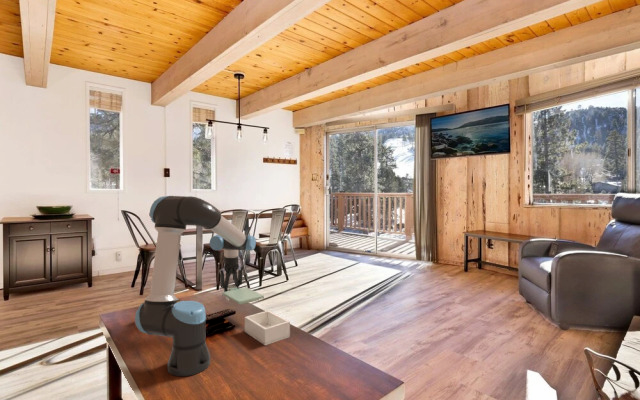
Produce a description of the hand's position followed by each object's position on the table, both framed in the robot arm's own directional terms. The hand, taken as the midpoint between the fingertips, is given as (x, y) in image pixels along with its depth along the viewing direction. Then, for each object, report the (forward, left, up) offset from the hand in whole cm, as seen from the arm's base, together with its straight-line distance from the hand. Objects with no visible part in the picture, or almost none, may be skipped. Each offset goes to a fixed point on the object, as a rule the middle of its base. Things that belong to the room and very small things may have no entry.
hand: (231, 299), depth 181 cm
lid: (-9, -4, +4) cm, 10 cm away
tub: (-33, -14, -7) cm, 37 cm away
